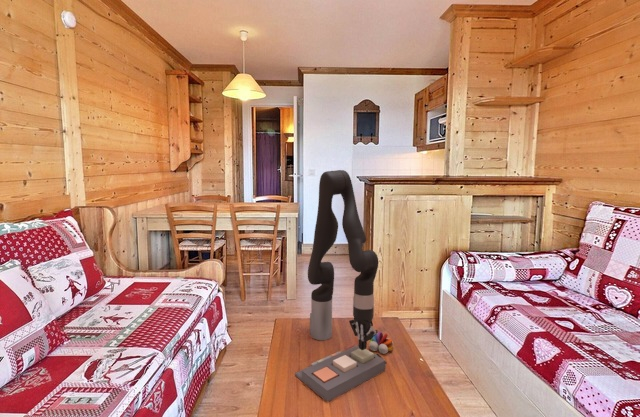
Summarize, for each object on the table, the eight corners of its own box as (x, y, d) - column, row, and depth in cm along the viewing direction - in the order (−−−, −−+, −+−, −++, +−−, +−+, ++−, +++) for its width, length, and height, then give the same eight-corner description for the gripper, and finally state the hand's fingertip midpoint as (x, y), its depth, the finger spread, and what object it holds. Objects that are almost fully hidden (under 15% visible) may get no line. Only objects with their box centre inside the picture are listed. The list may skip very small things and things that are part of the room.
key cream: (332, 366, 125) (332, 360, 125) (345, 361, 129) (345, 354, 129) (344, 374, 121) (344, 368, 121) (356, 368, 125) (356, 362, 124)
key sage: (350, 358, 131) (351, 352, 131) (362, 353, 135) (362, 347, 134) (362, 365, 126) (362, 359, 126) (373, 359, 130) (373, 353, 130)
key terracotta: (313, 379, 120) (313, 372, 120) (326, 373, 124) (326, 366, 123) (324, 388, 115) (324, 381, 115) (337, 381, 119) (337, 374, 119)
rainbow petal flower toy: (388, 357, 138) (388, 340, 137) (365, 350, 143) (366, 333, 142) (395, 348, 145) (396, 331, 144) (374, 341, 150) (374, 325, 149)
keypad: (295, 375, 125) (295, 365, 125) (351, 350, 143) (351, 340, 142) (327, 402, 111) (327, 390, 111) (385, 370, 129) (385, 360, 128)
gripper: (343, 301, 131) (343, 345, 133) (369, 313, 120) (368, 360, 122) (358, 296, 135) (357, 339, 137) (384, 307, 125) (382, 353, 127)
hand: (362, 348), depth 130 cm, fingers closed
